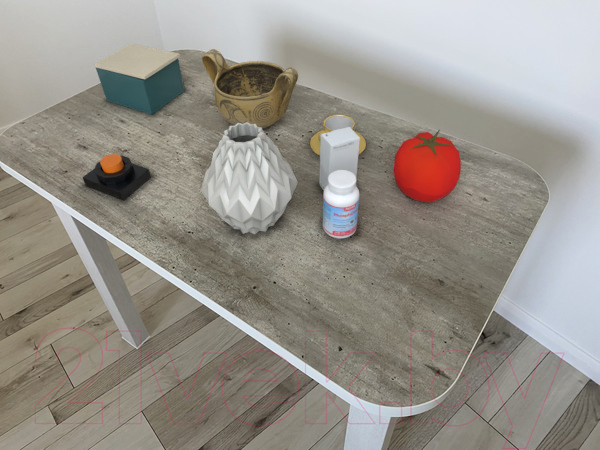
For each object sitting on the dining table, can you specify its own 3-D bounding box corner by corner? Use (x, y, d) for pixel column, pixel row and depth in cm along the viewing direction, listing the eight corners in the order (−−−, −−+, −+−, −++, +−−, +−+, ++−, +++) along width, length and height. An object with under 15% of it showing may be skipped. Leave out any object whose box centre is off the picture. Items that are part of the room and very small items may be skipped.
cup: (343, 123, 110) (344, 102, 106) (377, 148, 103) (379, 126, 99) (299, 140, 105) (298, 119, 102) (331, 168, 98) (332, 146, 94)
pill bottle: (335, 244, 83) (337, 195, 75) (316, 224, 87) (316, 175, 79) (363, 231, 85) (368, 181, 77) (343, 211, 89) (346, 162, 81)
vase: (233, 182, 96) (220, 99, 83) (310, 201, 91) (310, 115, 78) (191, 237, 85) (169, 151, 72) (277, 262, 80) (269, 174, 67)
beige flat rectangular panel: (180, 56, 116) (179, 53, 115) (145, 79, 108) (144, 76, 107) (132, 46, 121) (131, 43, 121) (95, 67, 113) (94, 64, 113)
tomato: (447, 169, 97) (459, 120, 89) (462, 215, 87) (476, 164, 79) (386, 170, 97) (392, 120, 89) (394, 215, 88) (402, 165, 80)
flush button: (98, 170, 94) (95, 163, 92) (113, 159, 96) (110, 152, 95) (113, 176, 92) (111, 168, 91) (128, 164, 95) (125, 157, 93)
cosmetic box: (328, 198, 92) (330, 146, 83) (319, 185, 94) (319, 133, 86) (356, 189, 93) (360, 137, 85) (346, 176, 96) (349, 125, 88)
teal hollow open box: (185, 90, 122) (178, 57, 116) (152, 114, 115) (143, 80, 108) (140, 78, 128) (132, 46, 121) (106, 101, 120) (95, 67, 114)
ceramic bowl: (194, 128, 110) (181, 66, 99) (234, 94, 121) (227, 34, 110) (279, 153, 102) (275, 88, 92) (314, 114, 113) (314, 53, 102)
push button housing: (85, 186, 96) (78, 170, 93) (114, 164, 101) (108, 148, 98) (123, 201, 92) (117, 184, 90) (151, 177, 97) (146, 161, 95)
